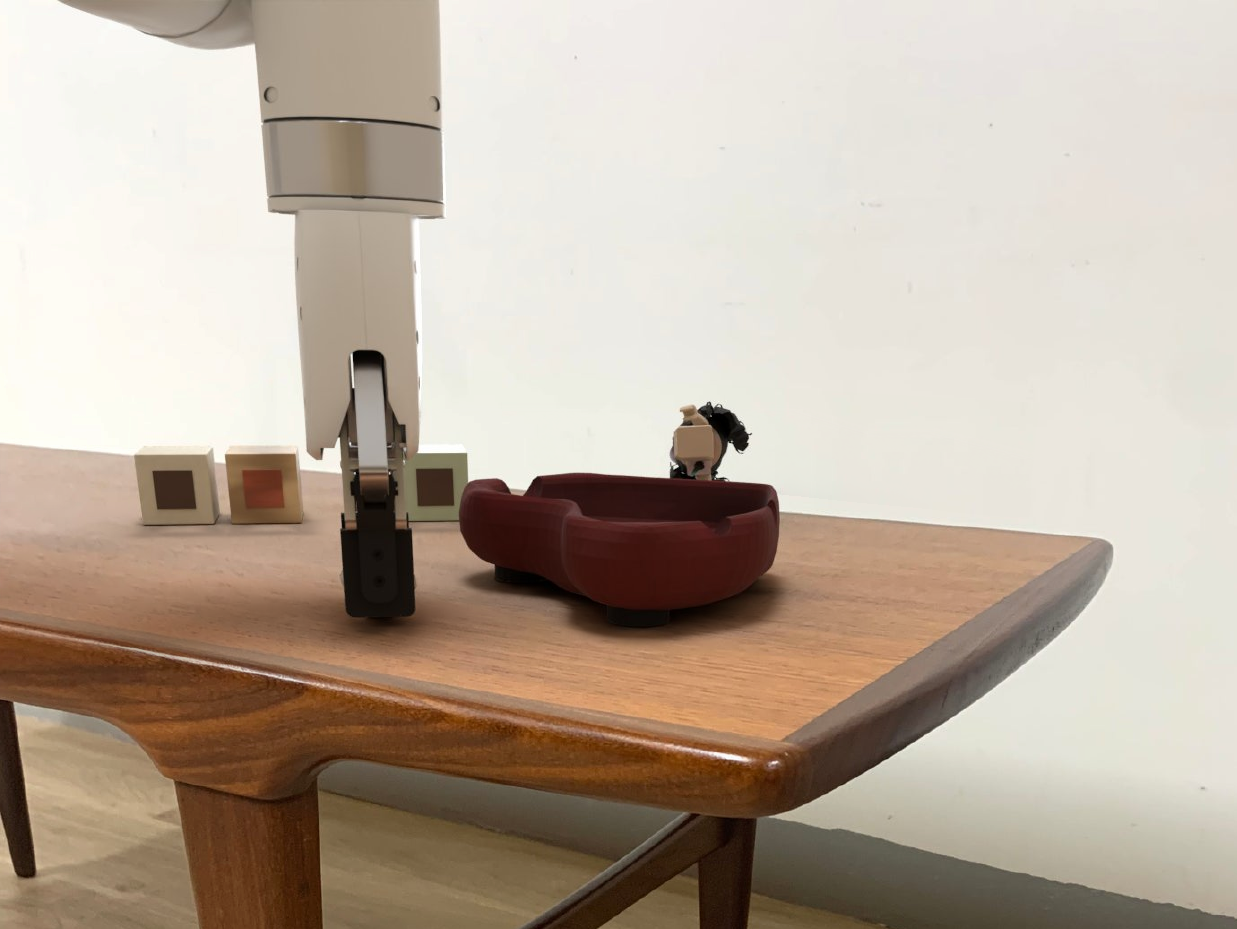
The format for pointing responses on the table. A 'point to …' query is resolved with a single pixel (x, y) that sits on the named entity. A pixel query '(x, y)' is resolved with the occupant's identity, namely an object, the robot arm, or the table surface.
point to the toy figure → (705, 441)
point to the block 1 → (177, 485)
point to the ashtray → (626, 538)
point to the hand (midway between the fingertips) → (379, 601)
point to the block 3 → (435, 482)
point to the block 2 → (264, 484)
